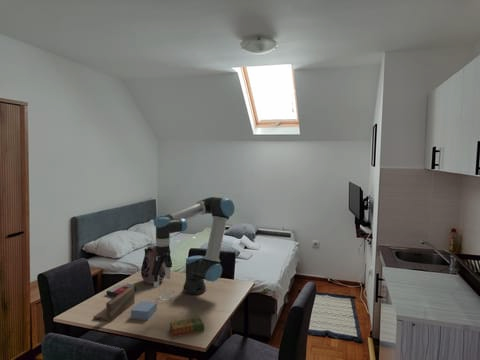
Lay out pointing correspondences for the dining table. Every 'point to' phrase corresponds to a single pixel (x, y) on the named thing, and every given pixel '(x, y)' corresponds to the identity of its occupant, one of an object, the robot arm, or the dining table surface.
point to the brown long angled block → (117, 305)
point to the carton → (186, 326)
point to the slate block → (144, 310)
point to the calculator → (119, 289)
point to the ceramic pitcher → (151, 266)
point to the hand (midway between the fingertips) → (162, 282)
